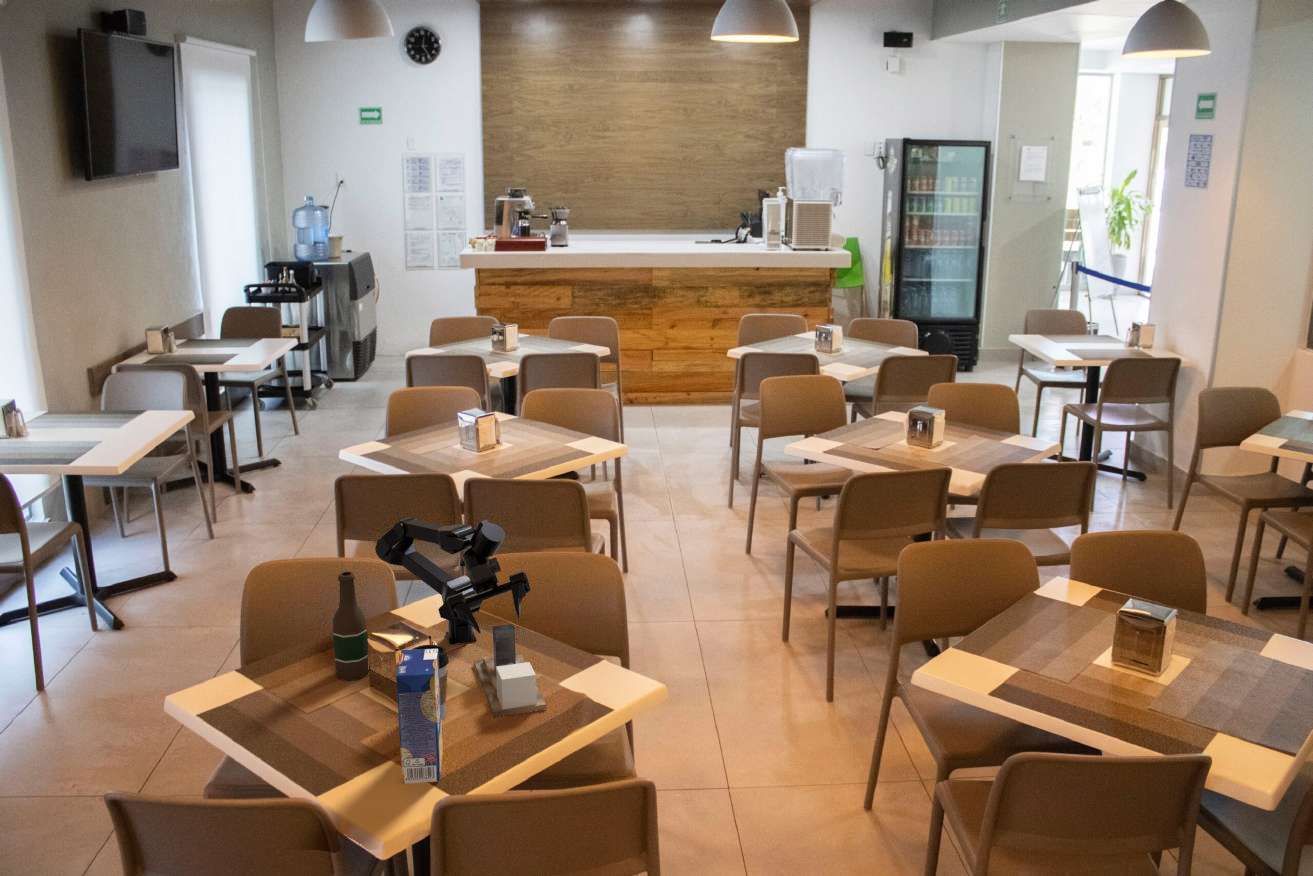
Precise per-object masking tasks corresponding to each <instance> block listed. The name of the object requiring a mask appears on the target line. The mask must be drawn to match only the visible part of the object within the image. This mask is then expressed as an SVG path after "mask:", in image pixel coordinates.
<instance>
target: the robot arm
mask: <svg viewBox="0 0 1313 876" xmlns="http://www.w3.org/2000/svg"><path fill="white" fill-rule="evenodd" d="M505 538H506V533H505V531H504V528H502V527H501V526H499V525H497V524H495V523H493V522H491V523H490V522H489V521H488V520H487V519H485V520H482V521H479V522H478V525H477V527H476V528H473V526H472V525H470V524H467V523H465V524H464V523H463V524H462V523H460V524H458V523H457V524H452V525H443V524H439V523H434V522H430V521H426V520H420V519H417V518H416V517H407V518H403V519H401V520H398V521H397V522H396V523H394V525H393V526H392V528H390V529H389V530H388V531H387V532H386V533H385V534H383V536H382V537H381V538H378V540H377V542H376V544H375V547H374V549H375V553H376V555H377V557H378V558H379V559H380V560H381V561H383V562H385V563H386V564H389V565H392V566H400V567H404V569H406V570H407V571H409V572H410V573H411V574H413V575H414V576H415V577H417V579H419V580H420V581H422V582H423V583H425V584H426V585H427V586H429V587H430V588H431V589H433V590H434V591H435V592H437V593H438V594H439V595H440V596H441V600H442V603H443V604H442V605H441V606H440V607H439V608H438V614H439V616H440V619H441V618H442V619H443V620H447V623H448V625H447V626H448V631H446V632H445V636H446V639H447V641H448V644H449V645H457V644H465V643H475V642H477V637H476V635H475V633H474V630H475V631H476V632H477V633H478V634H481V629H480V627H479V624H478V622H477V621H476V618H475V616H474V615H473V614H474V613H477V612H479V611H480V610H481V607H482V603H483V601H484V600H489V599H490V600H491V599H492V598H495V597H497V596H501V595H503V594H507V593H509V592H511V594H512V595H511V596H512V600H513V604H514V609H515V613H516V614H515V615H516V616H517V619H518V620H520V619H521V608H522V607H521V606H522V601H523V598H525V597H526V596H527V594H528V593H529V592H530V591H531V587H530V583H529V578H528V576H527V574H526V573H527V572H525V571H523V570H521V571H518V572H515V573H513V574H509V575H507V576H508V577H507V578H508V582H505V583H502V584H499V580H498V577H497V573H500V572H502V569H501V566H500V563H499V560H498V558H497V557H494V556H495V554H496V552H497V551H498V549H499V548H500V546H501V545H502V543H503V541H504V539H505ZM416 540H419V541H423V542H427V543H431V544H435V545H438V546H439V549H440V550H442V551H444V552H446V553H448V554H450V555H455V554H458V553H461V552H463V551H464V553H463V554H462V557H461V559H460V562H459V566H460V567H465V569H466V573H467V575H468V576H467V575H465V574H464V575H461V576H459V577H456V578H454V577H453V576H451V574H449V573H447V572H446V571H445V570H443V569H442V568H441V567H439V566H437V564H435V563H434V562H433V561H431V560H429V559H428V558H427V557H426V556H424V555H423V554H422V553H420V552H419V551H417V550H416V546H415V541H416ZM492 557H493V558H492ZM473 628H474V630H473Z"/></svg>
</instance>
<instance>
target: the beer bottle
mask: <svg viewBox="0 0 1313 876" xmlns="http://www.w3.org/2000/svg"><path fill="white" fill-rule="evenodd" d="M337 579H338V580H337V581H339V604H338V608H337V609H336V611H335V612H334V615H333V619H332V635H333V637H332V638H333V650H334V651H333V652H334V662H335V663H334V664H335V674H336V678H337V679H339V680H342V681H347V682H350V681H357V680H361V679H363V678H365V677H367V676H368V675H369V674H370V668H369V669H368V655H369V641H368V629H367V620H366V616H365V613H364V612H363V610H362V608H360V606H359V605H358V602H357V596H356V595H357V594H356V588H355V581H354V580H355V579H356V577H355V573H354V572H353V571H342V572H340V573H339V574H338V576H337ZM368 673H369V674H368Z"/></svg>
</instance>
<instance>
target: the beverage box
mask: <svg viewBox="0 0 1313 876" xmlns="http://www.w3.org/2000/svg"><path fill="white" fill-rule="evenodd" d="M395 678H396V696H397V697H396V699H397V712H398V713H397V714H398V716H397V717H398V731H399V733H398V734H399V750H400V751H399V752H400V767H401V769H400V770H401V784H402V785H404V784H419V783H422V784H423V783H434V782H436V783H437V782H440V780H441V774H442V773H441V772H442V771H441V770H442V762H443V753H444V749H443V728H442V726H443V725H442V720H441V701H440V679H439V657H438V648H433V649H413V648H411V649H401V651H400V655H399V662H398V665H397V671H396V675H395Z"/></svg>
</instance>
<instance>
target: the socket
mask: <svg viewBox="0 0 1313 876" xmlns="http://www.w3.org/2000/svg"><path fill="white" fill-rule="evenodd" d="M496 680H497V697H498V699H499V702H500V704H501V706H502V709H509V708H515V707H522V706H528V705H535V704H537V702H536V685H537V675H536V672H535V670H534V668H533V666H532V664H531V663H530V661H525V663H518V664H511V665H504V666H497V667H496Z"/></svg>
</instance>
